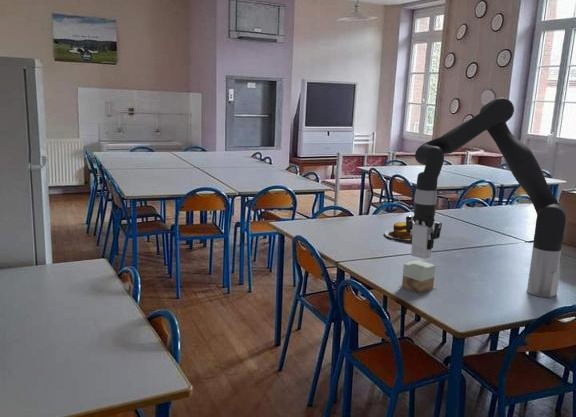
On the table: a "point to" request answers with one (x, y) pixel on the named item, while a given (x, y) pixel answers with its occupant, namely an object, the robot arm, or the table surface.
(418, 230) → the skincare box
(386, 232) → the food on plate
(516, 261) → the table surface
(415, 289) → the lower block
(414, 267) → the upper block
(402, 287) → the mat
